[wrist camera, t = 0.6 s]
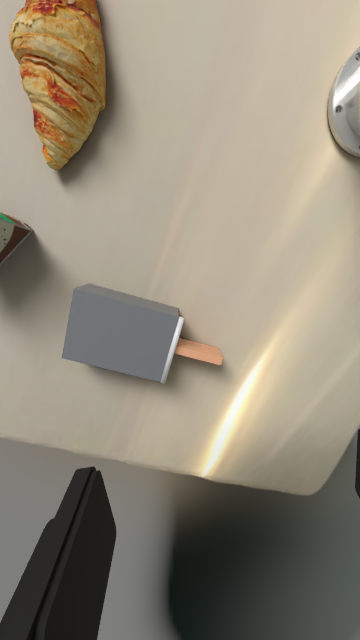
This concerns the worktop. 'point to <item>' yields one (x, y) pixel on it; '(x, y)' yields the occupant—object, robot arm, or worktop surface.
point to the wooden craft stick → (198, 351)
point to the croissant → (61, 71)
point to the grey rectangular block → (121, 332)
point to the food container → (11, 235)
